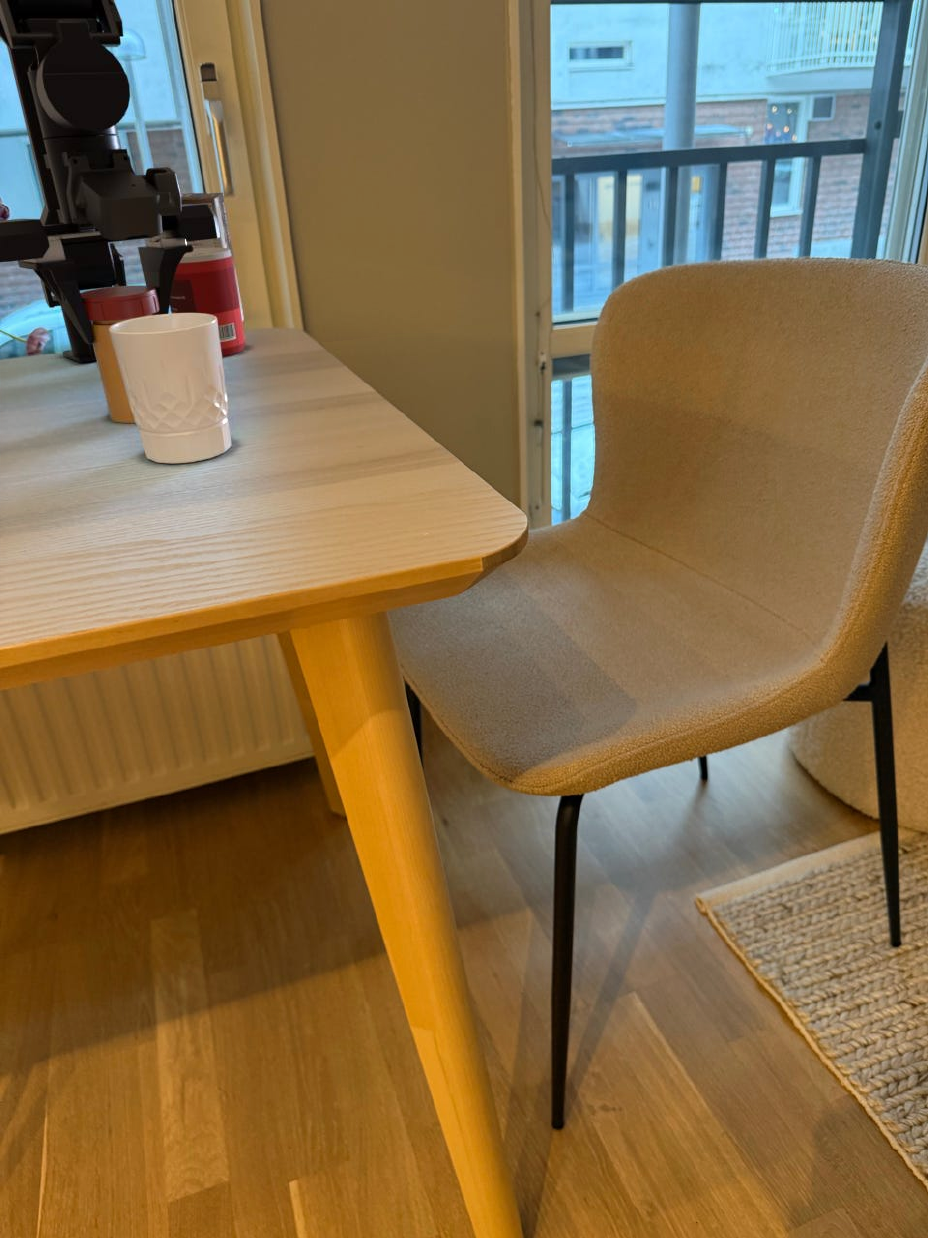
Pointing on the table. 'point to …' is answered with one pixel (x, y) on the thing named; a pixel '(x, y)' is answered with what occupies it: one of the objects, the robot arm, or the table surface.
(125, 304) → the lid
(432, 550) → the table surface
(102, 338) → the jar
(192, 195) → the coffee box
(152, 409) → the white cup
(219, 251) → the canned food
